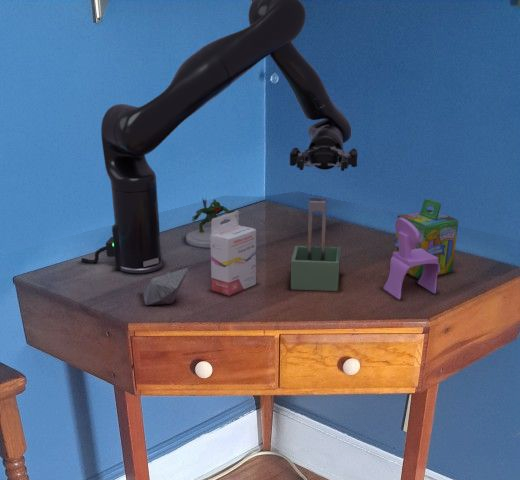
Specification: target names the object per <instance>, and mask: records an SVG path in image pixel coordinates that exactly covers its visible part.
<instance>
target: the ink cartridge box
mask: <svg viewBox="0 0 520 480" xmlns="http://www.w3.org/2000/svg"><path fill="white" fill-rule="evenodd" d="M234 211H235V212H232V213H225V214H222V215H220V216H216V217H217V218H213V219H212V221H210V228H211V235H210V245H211V248H210V272H211V273H210V274H211V276H210V277H211V291H212V292H215V293H218V294H221V295H225V296H228V297H230V296H233V295H234V294H237V293H239V292H241V291H244V290H246V289H248V288H252V287H253V286H256V285H257V229H256V228H253V227H249V226H244V225H240V224H239V223H240V222H239V219H240V210H234ZM225 220H229V222H225V223H222V222H224V221H225ZM220 223H221V224H220Z"/></svg>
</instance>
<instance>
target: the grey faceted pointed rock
mask: <svg viewBox="0 0 520 480" xmlns="http://www.w3.org/2000/svg"><path fill="white" fill-rule="evenodd" d="M189 269H190V267H186V268H181V269H179V270H176V271H173V270H169V271H166V273H165V274H163V275H159V276H156V277H153V278H151V279H150V280H149V283H148V284H147V286H146V287H145V289H144V292H143V293H142V296H143V301H144V305H145V306H154V305H155V306H156V305H170V304H172V303H173V302H174V301H175V298H176V297H177V294H178V292H179V290H180V288H181V286H182V284H183V281H184V279H186V278H185V277H186V275H187V273H188V272H189Z"/></svg>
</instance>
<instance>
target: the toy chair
mask: <svg viewBox="0 0 520 480" xmlns="http://www.w3.org/2000/svg"><path fill="white" fill-rule="evenodd" d="M394 229H395V232H396V231H397V233H398V243H399V251H397V252H394V251H392V256H391V258H390V260H389V261H390V262H389V275H388V278H387V280H386V282H385V284H384V286H383V288H382V289H383V290H384V291H386V292H387V293H388V294H390V295H391V296H393V297H394V298H396V299H397V300H401V299H402V289H403V281H404V279H405V276H406V275H407V271H408V270H409V268H411V267H413V266H417V265H421V264H423V265H424V270H423V273H422V276H421V278H420V280H419V279H418V281H417V284H418V285H420V286H421V287H423V288H424V289H426V290H427V291H429V292H431V293H432V294H434V295H435V294H437V282H438V276H439V275H438V270H439V263H438V257H436V256H434V255H431V254H430V253H428V252H426V251H425V250H423V249H422V248H418V249H413V248H415V247H417V246H418V245H419V239H420V236H419V232H418V230H417V229H416V227H415V226H414V225H413V224H412V223H410V222H409V221H408V220H406V219H404V218H402V217H400V218H398V219H396V221H395V223H394ZM412 249H413V250H412ZM437 275H438V276H437Z"/></svg>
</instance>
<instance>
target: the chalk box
mask: <svg viewBox="0 0 520 480" xmlns="http://www.w3.org/2000/svg"><path fill="white" fill-rule="evenodd" d="M441 206H442V204H441V202H439V201H435V200H432V199H429V198H425V199H424V200H423V203H422V206H421V210H419V211H414V212H409V213H404V214H398V215H397V217H396V218H397V219H398V218H400V217H402V218H404V219H406V220H408V221H409V222H410V223H412V224H413V225H414V226H415V227H416V229H417V230H418V232H419V236H420V239H419V245H418V246H417V247H415V248H413V249H418V248H422V249H423V250H425V251H426V252H428V253H430V254H431V255H434V256H436V257H438V263H439V270H438V275H437V277H438V276H441V275H446V274H450V273H452V272H453V267H454V266H453V265H454V258H455V250H456V243H457V236H458V235H457V234H458V229H459V228H458V227H459V220H458V219H457V218H455V217H452V216H450V215H447V214H444V213H441V212H440V210H441ZM428 207H432V208H433V210H432V209H428ZM397 219H396V220H397ZM393 248H394V250H393V252H397V251H399V243H398V233H397V231H396V230H395V240H394V247H393ZM413 249H412V250H413ZM423 270H424V265H423V264H421V265H417V266H413V267H411V268H409V270H408V271H407V273H406V275H409V276H411V277H413V278H416V280H418V281H419V280H420V278H421V276H422V273H423Z"/></svg>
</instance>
